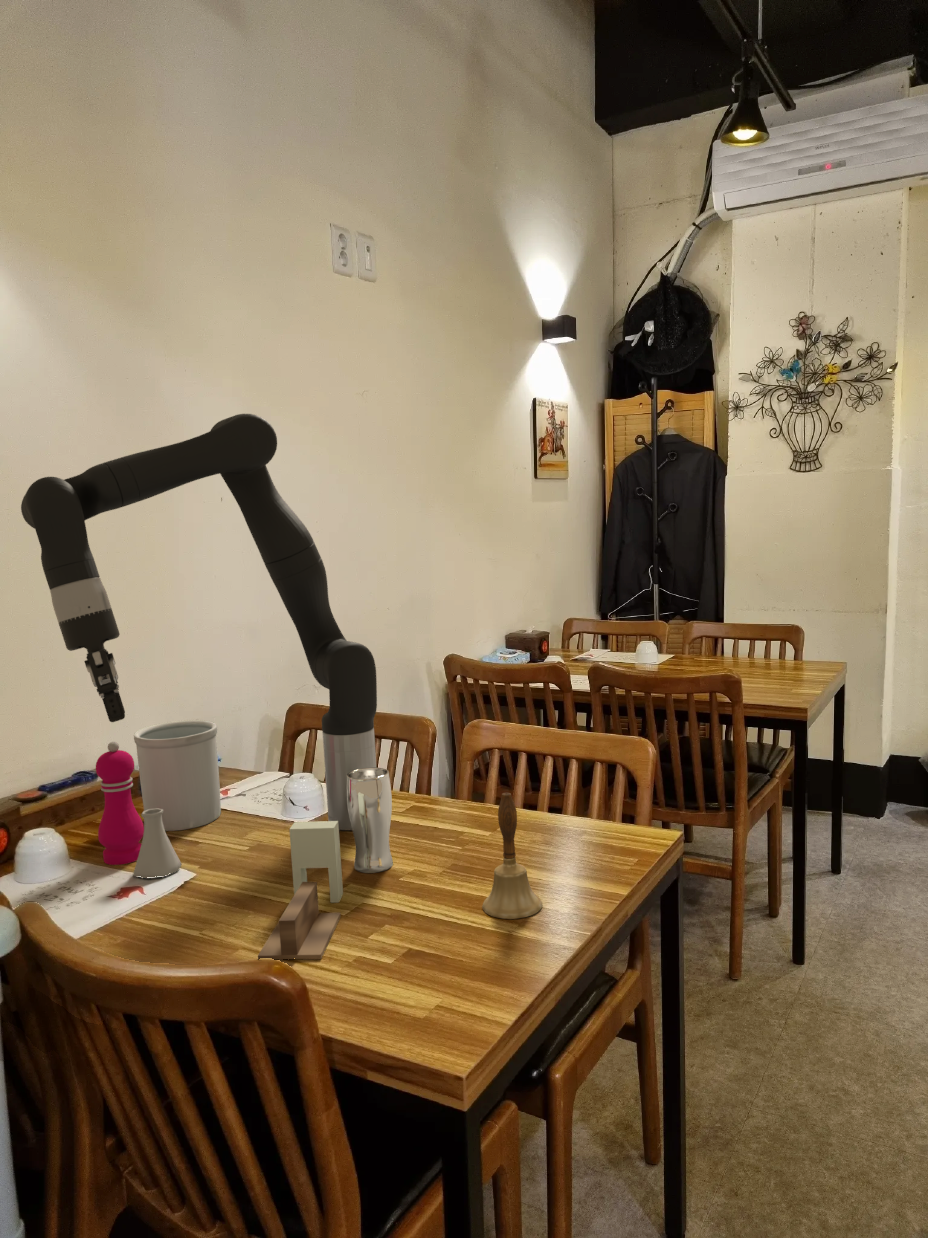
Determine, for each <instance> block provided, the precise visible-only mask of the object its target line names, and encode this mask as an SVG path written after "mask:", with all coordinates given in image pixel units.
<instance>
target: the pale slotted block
mask: <svg viewBox="0 0 928 1238" xmlns="http://www.w3.org/2000/svg"><path fill="white" fill-rule="evenodd" d="M289 838H290V839H289V842H290V844H289V845H290V856H291V869H292V884H293V896H294V895H295V893H296V892H297V890H298V888H299V887H300V885H301V883H302V882H308V875H307V869H322V868H326V869H327V868H328V869H327V871H328V882H329V899H330V903H331V904H333V903H334V904H335V903H340V901H341V899H342V898H343V895H344V888H343V873H342V857H341V856H342V855H341V844H340V843H341V842H340V830H339V826H338V821H327V820H325V821H324V820H323V821H320V820H319V821H318V820H317V821H295V822H293V824H292V825H291V826H290V827H289Z"/></svg>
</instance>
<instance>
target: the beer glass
mask: <svg viewBox="0 0 928 1238" xmlns="http://www.w3.org/2000/svg"><path fill="white" fill-rule="evenodd" d="M392 803H393V799H392V788H391V779H390V771H389V770H388V769H386V768H383V767H377V768H362V769H357V770H353V771H351V772H349V773H348V774H347V806H348V813H349V818H350V822H351V826H352V830H351V831H352V834H353V838H354V844H355V855H354V857H355V858H354V863H353V865H354V866H353V867H354V869H355V871H356V872H359V873H364V874H375V873H381V872H385V871H387V870H390V868H392V867H393V864H394V861H393V856H392V853H391V848H390V831H391V829H390V828H391V820H392V809H393V804H392Z"/></svg>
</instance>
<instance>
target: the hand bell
mask: <svg viewBox="0 0 928 1238" xmlns="http://www.w3.org/2000/svg"><path fill="white" fill-rule="evenodd" d="M497 810H498V812H497V816H498V817H497V819H498V826H499V829H500V833H501V836H502V841H503V842H502V844H503V845H502V846H503V847H502V849H503V853H502V856H503V861H502V862H503V863H502V864H499V865H497V867H495V868H494V872H493V884H492V888H491V891H490V892H489V895H488V896H487V897H486V898H485V899H484V901H483V903H482V905H481V906H482V910H483V912H484V913H485V914H487V915H489V916H491V917H492V918H493V917H494V918H498V919H503V920H504V919H505V920H517V919H522V918H526V917H530V916H533V915H536V914H537V913H538V912H539V911H541V910H542V908H543V901H542V900H541V898H540V897H539V896H538V895H537V894H536V893H535V892H534V891H533V889H532V886H531V885H530V881H529V877H528V871H527V868H526V866H524V865H523V864H520V863H518V862H517V860H516V859H517V857H516V847H515V835H516V831H517V827H518V826H517V825H518V813H517V807H516V804H515V802H514V800H513V797H512V794H511V793H510V792H503V793H501V797H500V802H499V806H498V809H497Z"/></svg>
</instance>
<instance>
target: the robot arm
mask: <svg viewBox="0 0 928 1238" xmlns="http://www.w3.org/2000/svg"><path fill="white" fill-rule="evenodd" d="M277 449H278V436H277V433H276V431H275V429H274V427H273V426H272V424H271V423H270V422H269V421H268V420H267V419H265V418H264V417H262V416H259V415H257V414H252V413H239V414H238V413H237V414H235V415H233V416H229V417H227V418H224V419H222V420H220V421H218V422H216V423H215V424H214V425H213V426H212V427H211V429H210V430H209V431H208V432H206V433H203V434H200V435H197V436H195V437H192V438H190V439H186V440H183V441H179V442H177V443H173V444H169V445H164V446H161V447H160V446H159V447H157V448H152V449H147V450H144V451H140V452H136V453H132V454H128V455H125V456H122V457H118V458H114V459H111V460H109V461H104V462H102V463H99V464H96V465H94V466H92V467H89V468H87V469H86V470H85V471H84V472H81V473H79V474H77V475H74V476H71V477H68V478H65V479H63V478H60V477H57V476H44V477H41V478H39V479H37V480H35V481H34V482H32V484H30V485H29V487H28V488H27V490H26V491H25V494H24V496H23V497H22V498H23V499H22V500H21V505H20V510H21V511H20V512H21V515H22V517H23V519H24V521H25V523H26V524H27V525H29V526H30V527H31V528H32V529H34V530H35V532H36V536H37V540H38V542H39V546H40V548H41V551H40V552H41V554H40V560H41V565H42V569H43V573H44V576H45V579H46V582H47V586H48V589H49V592H50V596H51V603H52V607H53V610H54V614H55V617H56V620H57V622H58V626H59V629H60V632H61V636H62V638H63V641H64V645H65V648H66V650H68V651H70V652H71V651H76V650H81V649H85V650H86V651H87V653H86V657H85V659H86V660H83V661H84V666H85V668H86V671H87V672H88V673H89V675H90V679H91V683H92V685H93V686H94V687H95V688H96V692H97V693H98V696H99V697H100V699H102V703H103V705H104V709H105V711H106V715H107V718H108V721H109V722H111V723H115V722H119V721H121V720H124V719H125V717H126V711H125V708H124V705H123V704H124V703H123V700H122V697H121V694H120V692H119V691H120V690H119V689H120V685H119V682H118V680H119V675H118V671H117V669H116V660H115V657H114V654H113V652H110V653H109V651H108V650H107V648H105V643H106V642H107V641H111V640H115V639H117V638H119V637H120V630H119V628H118V624H117V621H116V618H115V614H114V612H113V611H114V610H113V608H112V605H111V603H110V599H109V596H108V594H107V591H106V588H105V586H104V585H103V582H102V579H101V578H100V574H99V570H98V568H97V564H96V561H95V558H94V556H93V552H92V551H91V548H90V543H89V540H88V532H87V527H86V522H85V521H86V520H88V519H92V518H93V517H96V516H97V515H100V514H103V513H107V512H109V511H115V510H117V509H121V508H123V507H127V506H131V505H133V504H136V503H139V502H142V501H144V500H147V499H150V498H152V497H156V496H157V495H161V494H163V493H165V492H168V491H171V490H173V489H175V488H179V487H181V486H184V485H187V484H189V483H192V482H195V481H197V480H200V479H201V480H202V479H204V478H208V477H211V476H216V475H220V476H221V478H222V479H223V481H224V482H225V484H226V486H227V487H228V490H229V491H230V493H231V495H232V497H233V498H234V500H235V501H236V503H237V505H238V507H239V509H240V512H241V514H242V516H243V518H244V520H245V523H246V525H247V528H248V530H249V532H250V534H251V536H252V538H253V541H254V543H255V546H256V547H257V549H258V552H259V554H260V556H261V559H262V562H263V563H264V566H265V569H266V570H267V573H268V574H269V576H270V579H271V580H272V583H273V584H274V586H275V588H276V590H277V593H278V594H279V596H280V598H281V600H282V603H283V605H284V607H285V608H286V611H287V613H288V615H289V617H290V618H291V621H292V622H293V624H294V626H295V627H294V628H295V629H296V631H297V634H298V637H299V640H300V641H301V645H302V647H303V651H304V654H305V657H306V660H307V663H308V666H309V669H310V671H311V673H312V676H313V678H314V679H315V680H316V682H317V683H318V684H319V685H320V686H322V687H324V688H325V689H328V690H329V691H328V692H329V697H328V698H329V705H328V706H329V708H328V711H327V712H326V713H324V714H323V715H322V717H321V731H322V744H323V757H324V758H323V760H324V774H325V775H324V776H325V787H326V788H325V789H326V805H327V820H328V821H338V826H339V831H353V830H352V826H351V822H350V818H349V813H348V806H347V774H348V773H349V772H351V771H353V770H357V769H362V768H378V767H377V755H376V742H375V741H376V740H375V739H376V737H375V728H374V727H375V725H374V723H375V722H374V719H375V717H376V713H377V709H378V697H377V696H378V694H377V693H378V690H377V689H378V687H377V686H378V685H377V684H378V683H377V682H378V681H377V667H376V661H375V658H374V656H373V653H372V652H371V650H370V649H369V648H368V647H367V646H366V645H364V644H362V643H359V642H355V641H350V640H347V639H346V637H345V635H344V634H343V633H342V630H341V629H340V627H339V625H338V623H337V621H336V618H335V617H334V615H333V613H332V609H331V606H330V599H329V587H328V576H327V571H326V567H325V564H324V562H323V561H324V560H323V559H322V557H321V554H320V552H319V549H318V548H317V545H316V544H315V541H314V538H313V537H312V534H311V533H310V532H309V530H308V528H307V527H306V525H305V524H304V522H303V521H302V520H301V519H300V518H299V516H298V515H297V514H296V512H295V511H293V509H292V508H291V507H290V506H289V504H288V503H287V502H286V500H284V499H283V497H282V496H281V494H280V493H279V491H278V489H277V488H276V485H275V484H274V481H273V480H272V478H271V475H270V473H269V469H268V468H267V465H268V464H269V463H270V462H271V460H273V458H274V456H275V454H276V452H277Z"/></svg>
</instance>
